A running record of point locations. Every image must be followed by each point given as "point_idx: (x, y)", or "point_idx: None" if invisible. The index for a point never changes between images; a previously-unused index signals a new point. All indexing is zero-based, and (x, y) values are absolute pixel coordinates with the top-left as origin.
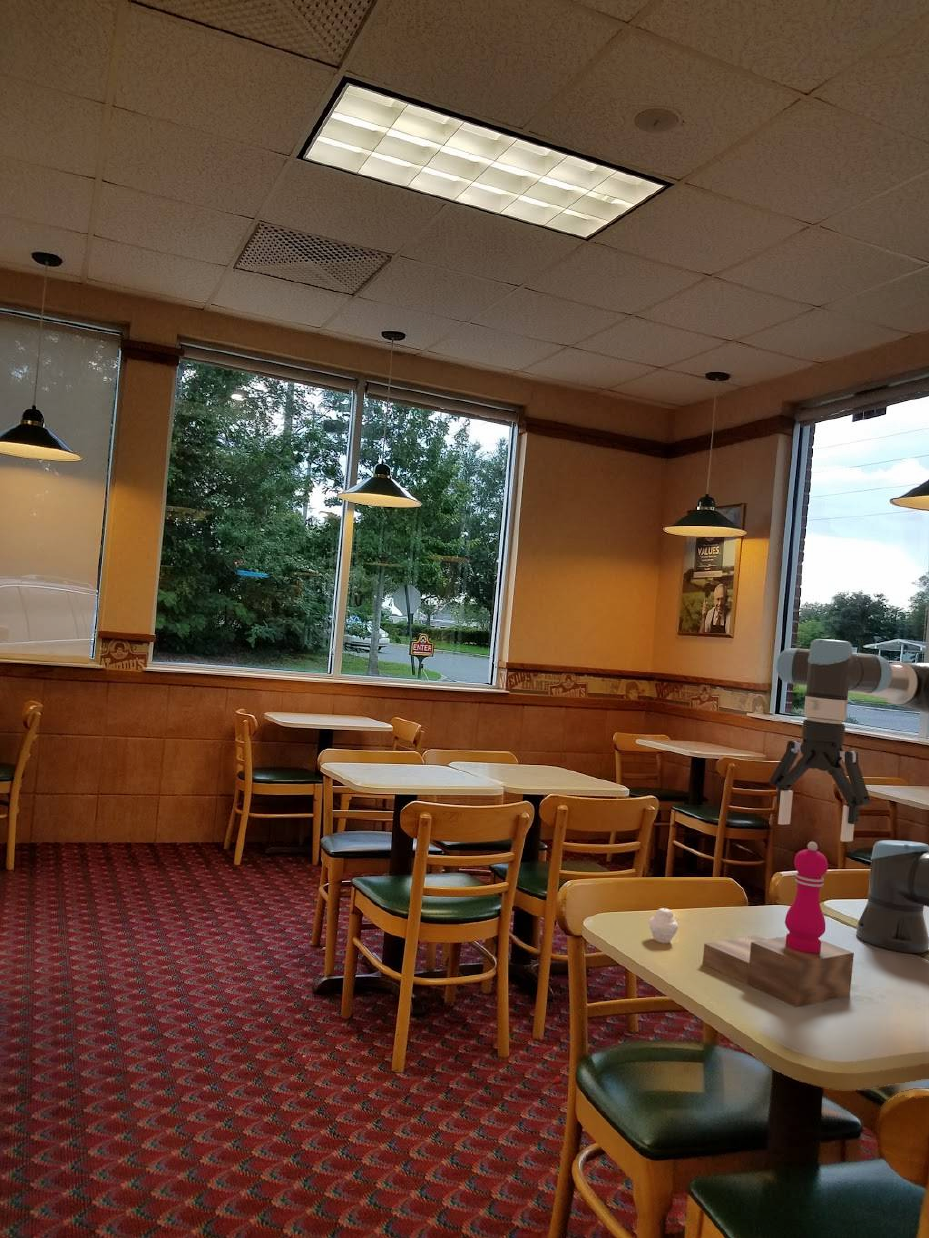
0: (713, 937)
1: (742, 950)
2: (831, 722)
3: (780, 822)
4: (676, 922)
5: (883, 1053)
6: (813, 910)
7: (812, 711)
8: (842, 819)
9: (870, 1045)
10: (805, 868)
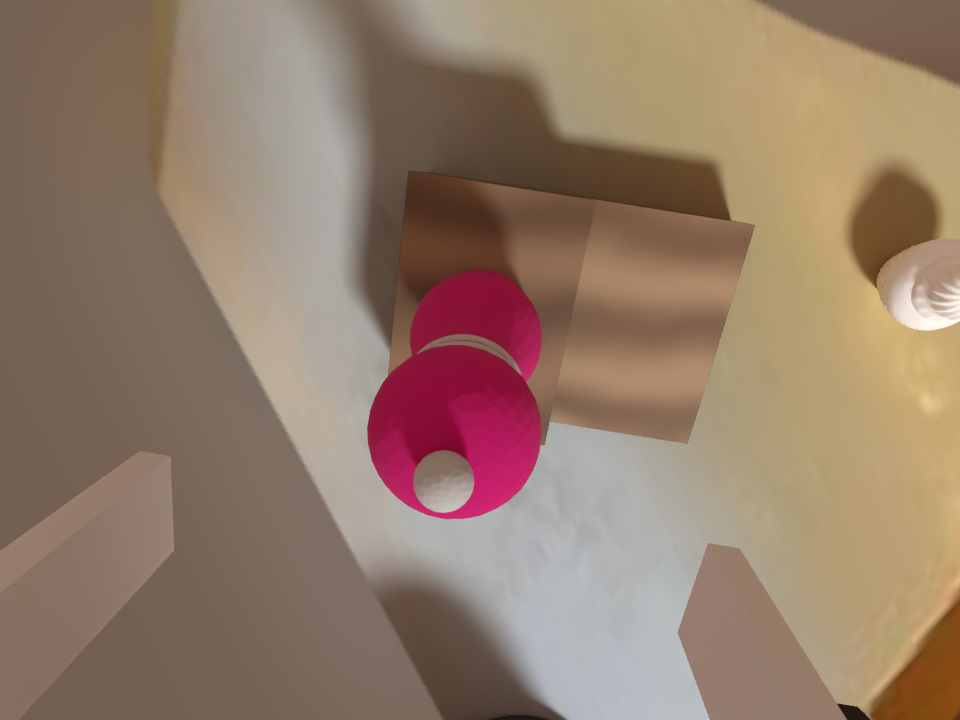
0: (806, 439)
1: (651, 282)
2: None
3: (722, 554)
4: (904, 310)
5: (181, 99)
6: (428, 327)
7: None
8: (26, 566)
9: (219, 116)
10: (441, 347)
